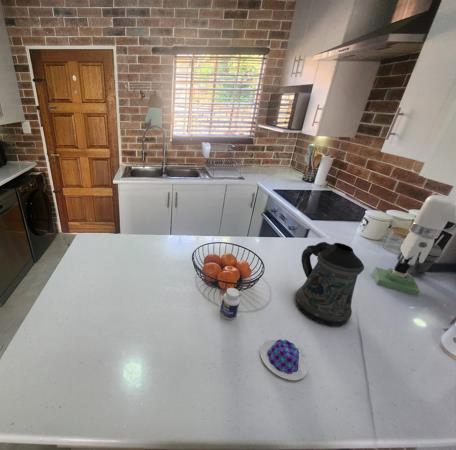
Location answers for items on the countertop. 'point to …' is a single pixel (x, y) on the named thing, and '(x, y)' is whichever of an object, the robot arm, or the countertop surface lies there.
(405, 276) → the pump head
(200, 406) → the countertop surface
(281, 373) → the pudding
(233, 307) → the pill bottle
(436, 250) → the beverage cup
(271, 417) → the countertop surface
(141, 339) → the countertop surface
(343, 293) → the beer stein
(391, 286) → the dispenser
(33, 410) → the countertop surface
